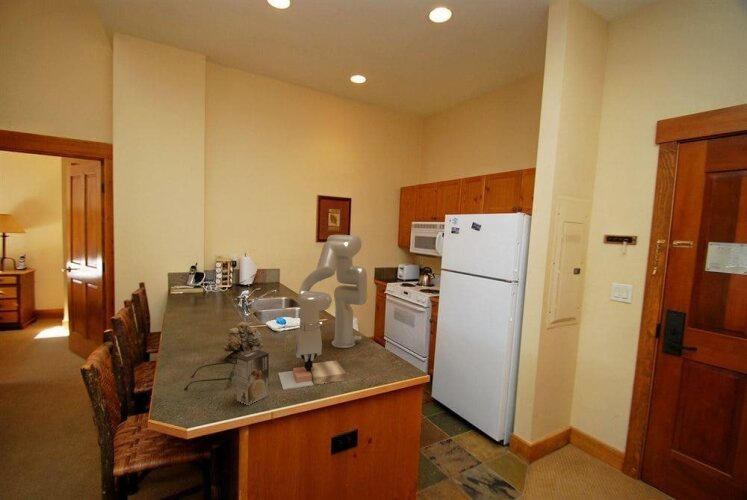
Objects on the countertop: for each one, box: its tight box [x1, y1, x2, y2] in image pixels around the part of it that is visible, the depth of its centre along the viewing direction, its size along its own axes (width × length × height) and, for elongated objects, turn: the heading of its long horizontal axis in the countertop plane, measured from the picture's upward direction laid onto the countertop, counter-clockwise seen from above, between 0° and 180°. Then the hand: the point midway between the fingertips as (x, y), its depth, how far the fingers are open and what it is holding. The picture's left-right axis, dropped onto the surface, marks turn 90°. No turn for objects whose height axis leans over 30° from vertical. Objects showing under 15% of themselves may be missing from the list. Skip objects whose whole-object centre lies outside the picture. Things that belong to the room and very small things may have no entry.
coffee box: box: [236, 349, 270, 406], centre depth 120 cm, size 9×6×16 cm
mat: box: [278, 370, 315, 391], centre depth 136 cm, size 12×15×1 cm
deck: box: [310, 360, 347, 386], centre depth 141 cm, size 13×14×3 cm
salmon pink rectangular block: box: [292, 366, 313, 383], centre depth 137 cm, size 6×9×2 cm, turn 22°
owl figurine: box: [222, 321, 265, 365], centre depth 156 cm, size 18×12×17 cm, turn 129°
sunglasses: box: [183, 361, 237, 390], centre depth 132 cm, size 16×17×5 cm
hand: (308, 369), depth 138 cm, fingers closed
